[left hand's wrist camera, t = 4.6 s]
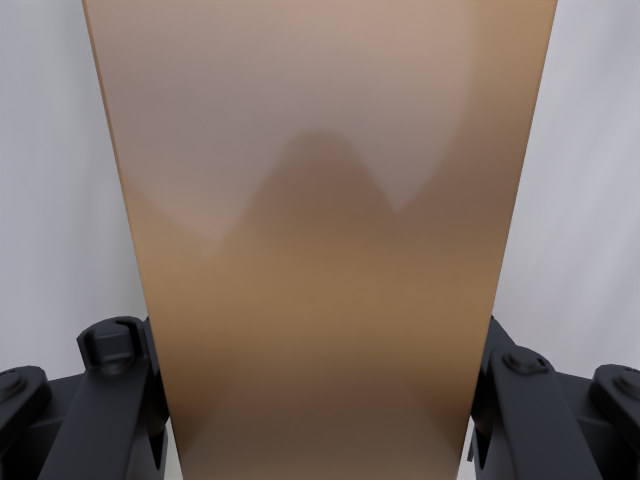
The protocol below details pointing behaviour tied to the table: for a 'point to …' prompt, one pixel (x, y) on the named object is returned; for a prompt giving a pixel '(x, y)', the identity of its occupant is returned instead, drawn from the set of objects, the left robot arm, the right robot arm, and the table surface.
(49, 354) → the table surface
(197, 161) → the beam
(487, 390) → the left robot arm
